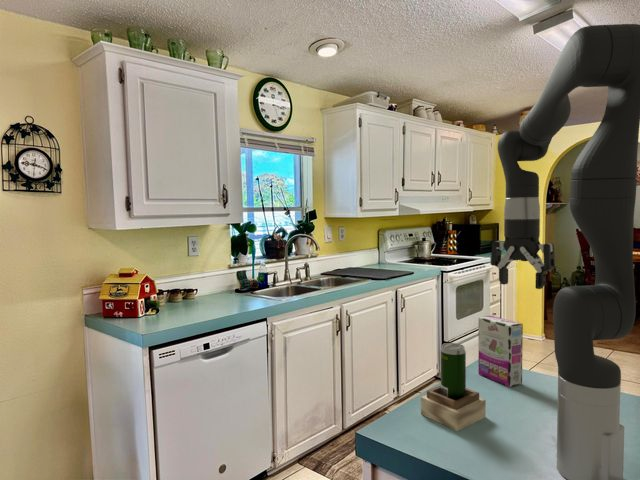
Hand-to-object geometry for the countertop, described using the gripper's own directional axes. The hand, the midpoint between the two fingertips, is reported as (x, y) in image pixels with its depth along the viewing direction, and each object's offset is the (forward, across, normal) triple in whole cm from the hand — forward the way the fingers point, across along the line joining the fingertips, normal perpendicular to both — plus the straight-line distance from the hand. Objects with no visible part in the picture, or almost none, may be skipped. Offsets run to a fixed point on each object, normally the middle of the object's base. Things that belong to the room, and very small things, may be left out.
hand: (521, 286), depth 103 cm
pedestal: (+28, +6, +18) cm, 34 cm away
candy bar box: (+28, +11, -9) cm, 32 cm away
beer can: (+24, +6, +18) cm, 31 cm away
